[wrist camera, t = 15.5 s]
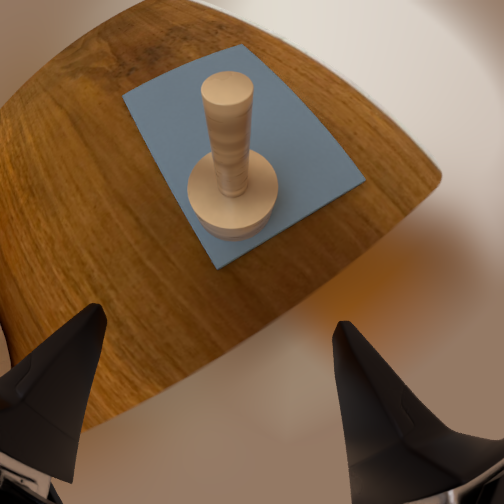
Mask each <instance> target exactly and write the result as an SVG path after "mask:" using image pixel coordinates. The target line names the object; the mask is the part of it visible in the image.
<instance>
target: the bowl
mask: <svg viewBox="0 0 504 504" xmlns="http://www.w3.org/2000/svg"><path fill="white" fill-rule="evenodd" d="M10 369H11V362H10V357H9V353H8V348H7V343H6V339H5V336H4V334H3V331H2V328H1V325H0V377H1V376H3V375H4V374H5V373H7V372H8V371H9V370H10Z"/></svg>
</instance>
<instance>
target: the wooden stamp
mask: <svg viewBox="0 0 504 504" xmlns="http://www.w3.org/2000/svg"><path fill="white" fill-rule="evenodd" d="M253 92H254V86H253V83H252V81H251V80H250V78H249V77H247V76H246V75H244V74H242V73H239V72H234V71H224V72H219V73H216V74H213V75H211V76H210V77H208V78H207V79H206V80H205V81H204V82H203V84H202V87H201V95H202V101H203V107H204V113H205V119H206V124H207V130H208V136H209V141H210V147H211V152H210V153H208V154H207V155H205V156H204V157H203V158H202V159H201V160H199V162H198V163H197V164H196V165H195V167H194V168H193V170H192V172H191V174H190V176H189V179H188V186H187V192H188V198H189V201H190V204H191V206H192V208H193V210H194V212H195V214H196V216H197V218H198V220H199V222H200V223H201V225H202V226H203V228H204V229H205V230H206V231H207V232H208V233H209V234H211V235H212V236H214V237H216V238H218V239H221V240H225V241H232V242H233V241H242V240H246V239H249V238H251V237H253V236H255V235H256V234H258V233H259V232H260V231H261V230H262V229H263V228H264V227H265V226H266V224H267V223H268V221H269V219H270V216H271V213H272V210H273V207H274V204H275V201H276V199H277V195H278V180H277V176H276V173H275V171H274V169H273V167H272V166H271V164H270V163H269V162H268V161H267V160H266V159H265V158H264V157H263V156H262V155H260V154H259V153H257V152H255V151H253V150H250V136H251V121H252V107H253Z"/></svg>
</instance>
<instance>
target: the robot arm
mask: <svg viewBox="0 0 504 504" xmlns="http://www.w3.org/2000/svg"><path fill="white" fill-rule="evenodd" d="M106 326H107V318H106V315H105V313H104V310H103V308H102V306H101V305H100V304H96V303H91V304H89V305H88V306H87V307H85V308H84V309H83V310H82V311H80V312H79V313H78V314H77V315H75V316H74V317H73V318H72V319H70V320H69V321H68V322H67V323H65V324H64V325H63V326H62V327H60V328H59V329H58V330H57V331H56V332H54V333H53V334H52V335H51V336H50V337H48V338H47V339H46V340H45V341H44V342H43V343H41V344H40V345H39V346H38V347H37V348H36V349H34V350H33V351H32V353H30V354H29V355H27V356H26V357H25V358H24V359H23V360H22V361H20V362H19V363H18V364H17V365H16V366H14V367H13V368H12V369H10V370H9V371H8V372H7V373H5V374H4V375H3V376H1V377H0V504H63V503H62V501H61V499H60V497H59V496H58V494H57V492H56V490H55V488H54V487H53V485H52V483H51V477H54V478H57V479H59V480H62V481H65V482H68V483H70V484H72V482H73V476H74V468H75V461H76V455H77V449H78V442H79V438H80V432H81V428H82V423H83V418H84V414H85V410H86V405H87V401H88V397H89V393H90V390H91V386H92V382H93V379H94V375H95V372H96V368H97V365H98V361H99V358H100V354H101V349H102V344H103V339H104V335H105V330H106ZM332 343H333V357H334V372H335V380H336V386H337V392H338V397H339V404H340V410H341V416H342V422H343V429H344V437H345V444H346V452H347V460H348V468H349V478H350V488H351V499H352V504H504V438H503V439H501V440H489V439H484V438H479V437H475V436H471V435H466V434H462V433H458V432H455V431H453V430H451V429H450V428H448V427H447V426H445V424H444V423H442V422H441V421H440V420H439V419H438V418H437V417H436V416H435V415H434V414H433V413H432V412H431V411H430V410H429V409H428V408H427V407H426V406H425V405H424V404H423V403H422V402H421V401H420V400H419V399H418V398H417V397H416V396H415V395H414V393H412V391H411V390H410V389H409V388H408V387H407V385H405V383H404V382H403V381H402V380H401V378H400V377H399V376H398V375H397V374H396V373H395V372H394V370H393V369H392V368H391V367H390V366H389V365H388V363H387V362H386V361H385V360H384V359H383V358H382V357H381V355H379V353H378V352H377V351H376V350H375V349H374V348H373V346H372V345H371V344H370V343H369V342H368V341H367V340H366V339H365V337H364V336H363V335H362V334H361V333H360V332H359V331H358V330H357V328H356V327H355V326H354V325H353V324H352V323H351V322H350V321H339V322H338V324H337V327H336V329H335V331H334V334H333V337H332Z"/></svg>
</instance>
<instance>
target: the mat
mask: <svg viewBox="0 0 504 504" xmlns="http://www.w3.org/2000/svg"><path fill="white" fill-rule="evenodd" d="M224 71H234V72H239V73H242V74H244V75H246V76H247V77H249V78H250V80H251V81H252V83H253V86H254V92H253V107H252V121H251V136H250V150H253V151H255V152H257V153H259V154H260V155H262V156H263V157H264V158H265V159H266V160H267V161H268V162H269V163H270V164H271V166H272V167H273V169H274V171H275V173H276V176H277V180H278V195H277V199H276V201H275V204H274V207H273V210H272V213H271V216H270V219H269V221H268V223H267V224H266V226H265V227H264V228H263V229H262V230H261V231H260V232H259V233H258V234H256V235H255V236H253V237H251V238H249V239H246V240H242V241H233V242H232V241H225V240H221V239H218V238H216V237H214V236H212V235H211V234H209V233H208V232H207V231H206V230H205V229H204V228H203V226H202V225H201V223H200V222H199V220H198V218H197V216H196V214H195V212H194V210H193V208H192V206H191V204H190V201H189V198H188V192H187V186H188V179H189V176H190V174H191V172H192V170H193V168H194V167H195V165H196V164H197V163H198V162H199V160H201V159H202V158H203V157H204V156H205V155H207V154H208V153H210V152H211V147H210V141H209V136H208V130H207V124H206V119H205V113H204V107H203V101H202V95H201V87H202V84H203V82H204V81H205V80H206V79H207V78H208V77H210V76H211V75H213V74H216V73H219V72H224ZM122 97H123V99H124V101H125V103H126V105H127V107H128V109H129V111H130V113H131V115H132V117H133V119H134V121H135V123H136V125H137V127H138V129H139V131H140V133H141V135H142V137H143V139H144V141H145V142H146V144H147V146H148V148H149V150H150V152H151V154H152V156H153V158H154V160H155V161H156V163H157V165H158V167H159V169H160V171H161V173H162V174H163V176H164V178H165V180H166V182H167V184H168V185H169V187H170V189H171V191H172V193H173V194H174V196H175V198H176V200H177V202H178V203H179V205H180V207H181V209H182V210H183V212H184V214H185V216H186V218H187V219H188V221H189V223H190V225H191V226H192V228H193V230H194V231H195V233H196V235H197V237H198V238H199V240H200V242H201V244H202V245H203V247H204V249H205V250H206V252H207V254H208V255H209V257H210V259H211V260H212V262H213V264H214V265H215V267H216V269H217V270H219V269H221V268H222V267H224V266H226V265H227V264H229V263H231V262H232V261H234V260H236V259H237V258H239V257H241V256H242V255H244V254H246V253H247V252H249V251H251V250H252V249H254V248H256V247H257V246H259V245H261V244H262V243H264V242H265V241H267V240H269V239H270V238H272V237H274V236H275V235H277V234H279V233H280V232H282V231H284V230H285V229H287V228H289V227H290V226H292V225H294V224H295V223H297V222H299V221H300V220H302V219H304V218H305V217H307V216H309V215H310V214H312V213H314V212H315V211H317V210H319V209H320V208H322V207H324V206H325V205H327V204H329V203H330V202H332V201H334V200H335V199H337V198H338V197H340V196H342V195H343V194H345V193H347V192H348V191H350V190H352V189H353V188H355V187H357V186H358V185H360V184H362V183H363V182H364V181H365V180H366V179H365V178H364V176H363V175H362V174H361V172H360V171H359V169H358V168H357V167H356V165H355V164H354V163H353V161H352V160H351V159H350V157H349V156H348V155H347V154H346V152H345V151H344V150H343V148H342V147H341V146H340V145H339V143H338V142H337V141H336V140H335V139H334V137H333V136H332V135H331V134H330V132H329V131H328V130H327V129H326V128H325V127H324V125H323V124H322V123H321V122H320V121H319V120H318V118H317V117H316V116H315V115H314V114H313V113H312V112H311V111H310V109H309V108H308V107H307V106H306V105H305V104H304V103H303V102H302V101H301V100H300V99H299V98H298V97H297V96H296V94H295V93H294V92H293V91H292V90H291V89H290V88H289V87H288V86H287V85H286V84H285V83H284V82H283V81H282V80H281V79H280V78H279V77H278V76H277V75H276V74H275V73H274V72H272V71H271V70H270V69H269V68H268V67H267V66H266V65H265V64H264V63H263V62H262V61H261V60H260V59H258V58H257V57H256V56H255V55H254V54H253V53H252V52H251V51H249V50H248V49H247V48H246V47H245V46H244V45H242V44H241V45H237V46H234V47H231V48H228V49H225V50H222V51H219V52H216V53H213V54H210V55H208V56H205V57H202V58H200V59H197V60H195V61H192V62H190V63H187V64H185V65H182V66H180V67H178V68H176V69H173V70H171V71H169V72H167V73H165V74H162V75H160V76H158V77H156V78H154V79H152V80H150V81H148V82H146V83H144V84H142V85H141V86H139V87H137V88H135V89H133V90H131V91H129V92H128V93H126V94H124V95H122Z"/></svg>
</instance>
